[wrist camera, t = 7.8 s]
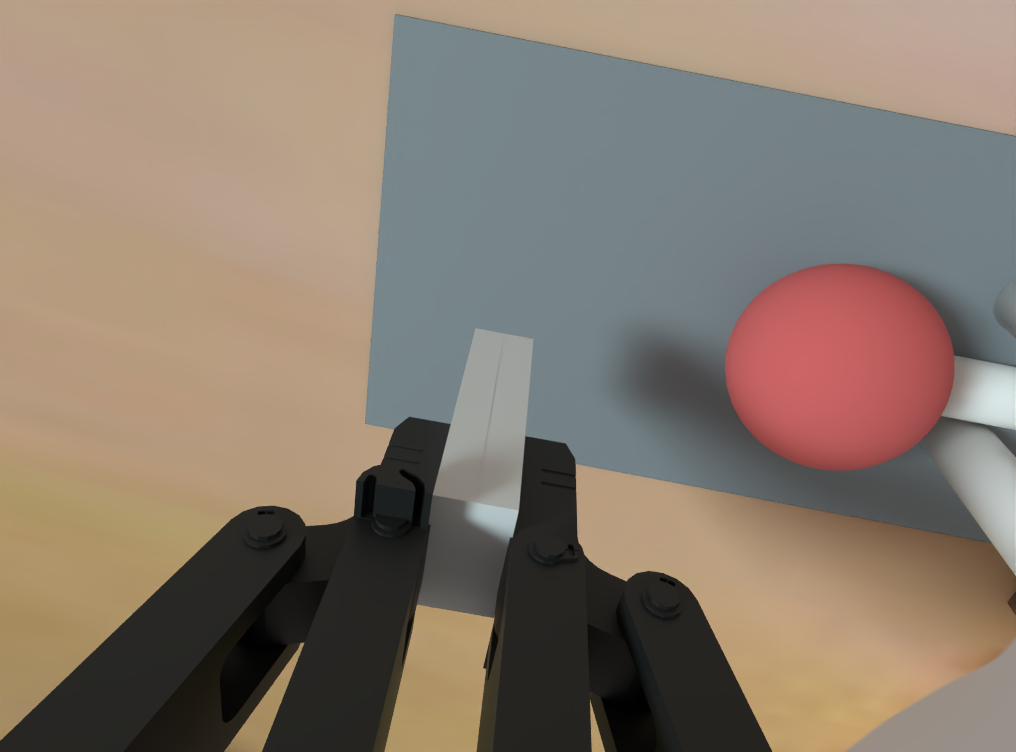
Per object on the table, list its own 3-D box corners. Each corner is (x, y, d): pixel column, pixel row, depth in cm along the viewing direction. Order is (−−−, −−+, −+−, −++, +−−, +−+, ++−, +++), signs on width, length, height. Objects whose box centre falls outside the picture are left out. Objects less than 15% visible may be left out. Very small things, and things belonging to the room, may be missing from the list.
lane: (1026, 546, 26) (1029, 550, 26) (366, 420, 26) (364, 423, 26) (1304, 193, 19) (1311, 194, 19) (396, 14, 19) (394, 14, 19)
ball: (768, 524, 18) (666, 393, 23) (936, 505, 20) (811, 388, 25) (866, 332, 15) (725, 225, 20) (1057, 331, 17) (886, 233, 22)
